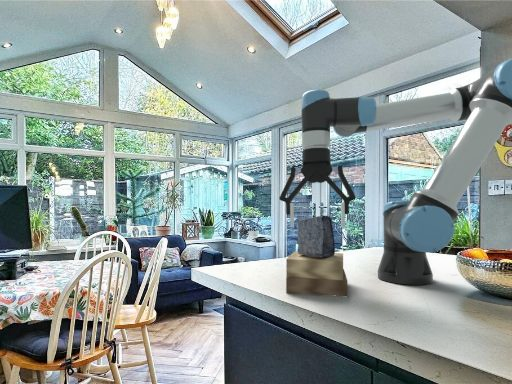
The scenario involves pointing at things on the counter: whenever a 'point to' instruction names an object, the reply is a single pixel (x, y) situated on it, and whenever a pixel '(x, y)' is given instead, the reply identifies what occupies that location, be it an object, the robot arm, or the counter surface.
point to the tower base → (316, 286)
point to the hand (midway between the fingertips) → (317, 227)
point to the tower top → (315, 266)
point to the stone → (316, 237)
